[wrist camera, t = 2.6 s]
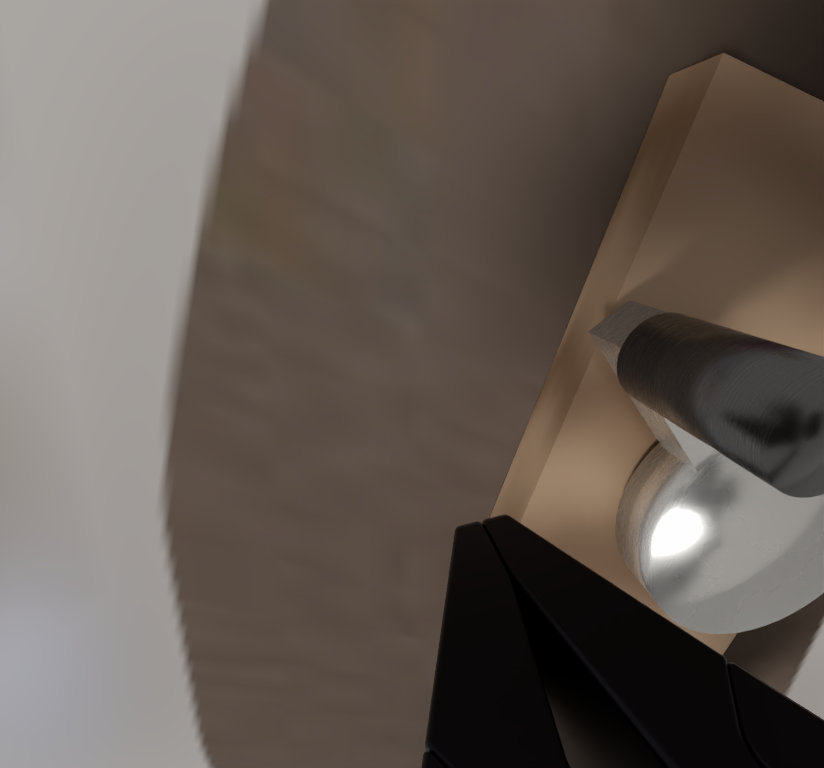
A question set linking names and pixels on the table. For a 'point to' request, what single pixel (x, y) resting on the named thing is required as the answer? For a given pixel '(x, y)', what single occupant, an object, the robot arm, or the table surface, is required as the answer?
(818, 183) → the stand
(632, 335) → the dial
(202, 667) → the table surface
